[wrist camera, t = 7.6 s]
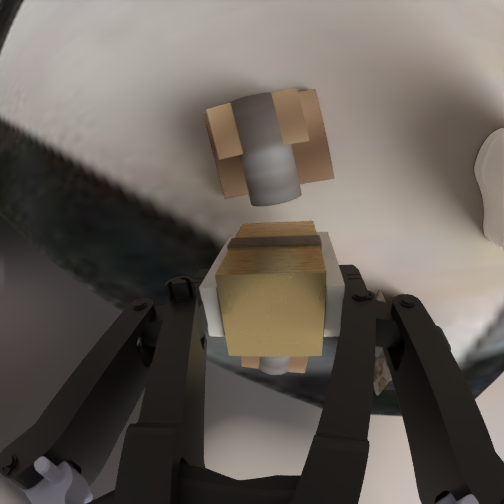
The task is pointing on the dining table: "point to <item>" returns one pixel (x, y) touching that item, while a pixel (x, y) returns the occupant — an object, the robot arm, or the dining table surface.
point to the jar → (492, 185)
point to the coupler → (273, 290)
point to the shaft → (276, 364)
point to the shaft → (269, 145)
